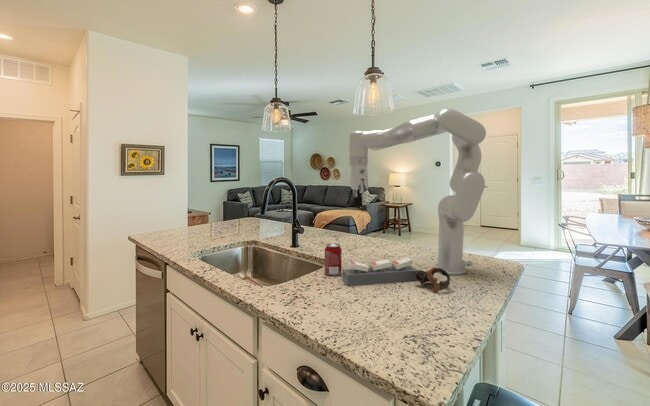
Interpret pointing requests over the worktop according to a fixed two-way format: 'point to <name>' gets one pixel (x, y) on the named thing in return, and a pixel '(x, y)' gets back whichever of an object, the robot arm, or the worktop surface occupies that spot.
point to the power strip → (379, 276)
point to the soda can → (333, 259)
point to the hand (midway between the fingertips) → (358, 206)
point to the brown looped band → (433, 278)
